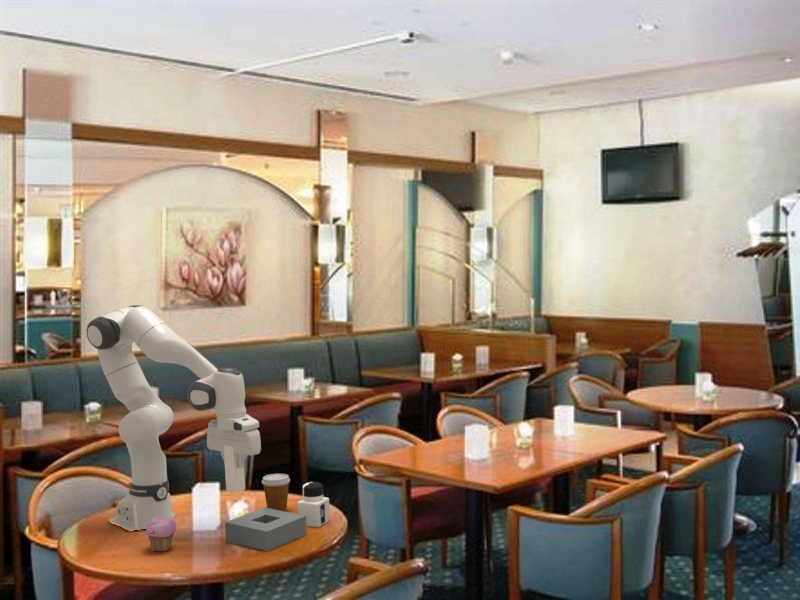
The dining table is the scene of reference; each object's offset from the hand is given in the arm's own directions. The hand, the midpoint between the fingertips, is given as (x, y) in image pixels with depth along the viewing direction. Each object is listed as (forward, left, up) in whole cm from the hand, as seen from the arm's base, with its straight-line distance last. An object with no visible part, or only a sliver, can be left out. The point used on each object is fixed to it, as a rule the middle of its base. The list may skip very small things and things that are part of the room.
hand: (234, 466), depth 274 cm
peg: (0, 0, -7) cm, 7 cm away
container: (+7, +27, -24) cm, 37 cm away
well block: (+4, +8, -24) cm, 26 cm away
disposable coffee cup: (-12, +30, -24) cm, 40 cm away
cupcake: (-16, -16, -24) cm, 33 cm away
